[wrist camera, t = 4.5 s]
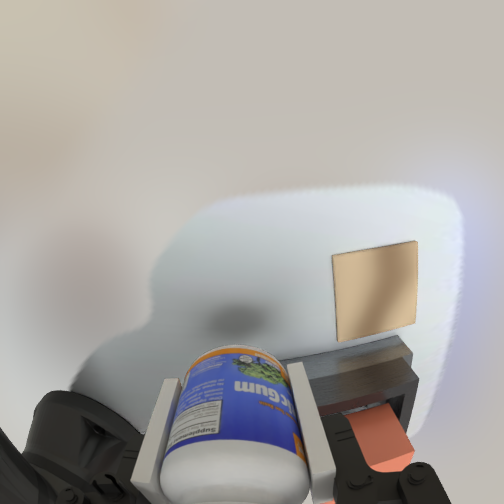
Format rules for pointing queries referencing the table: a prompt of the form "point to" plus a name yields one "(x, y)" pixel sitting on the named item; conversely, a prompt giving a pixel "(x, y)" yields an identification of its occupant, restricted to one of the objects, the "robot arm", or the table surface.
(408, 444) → the orange block
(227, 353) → the pill bottle
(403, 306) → the coaster
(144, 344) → the table surface
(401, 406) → the grey square tray
